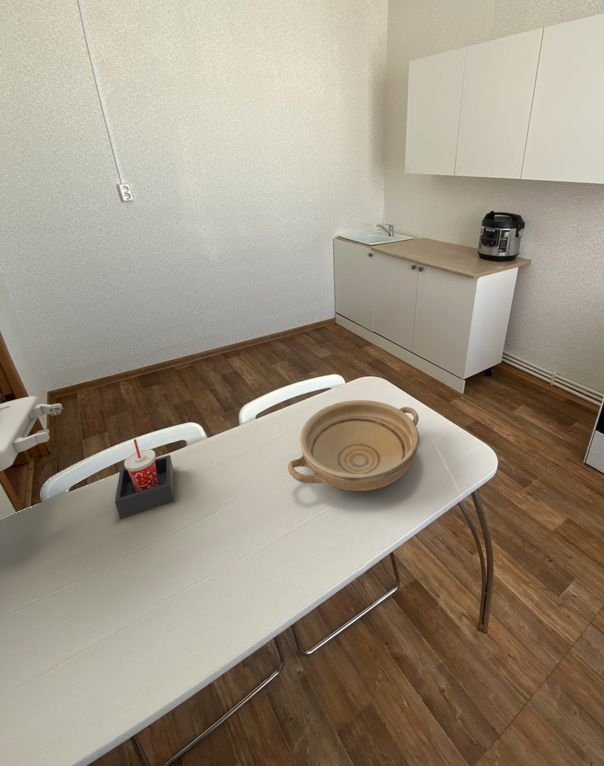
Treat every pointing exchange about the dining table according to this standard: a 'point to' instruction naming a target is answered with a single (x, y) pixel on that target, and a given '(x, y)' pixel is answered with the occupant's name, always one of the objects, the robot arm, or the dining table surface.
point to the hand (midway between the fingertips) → (55, 420)
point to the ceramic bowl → (357, 445)
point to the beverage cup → (142, 469)
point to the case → (147, 499)
